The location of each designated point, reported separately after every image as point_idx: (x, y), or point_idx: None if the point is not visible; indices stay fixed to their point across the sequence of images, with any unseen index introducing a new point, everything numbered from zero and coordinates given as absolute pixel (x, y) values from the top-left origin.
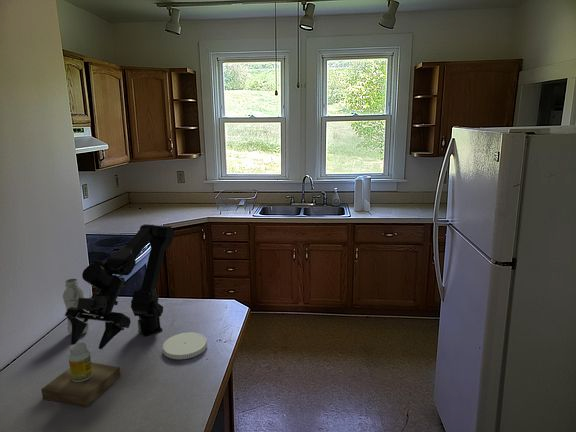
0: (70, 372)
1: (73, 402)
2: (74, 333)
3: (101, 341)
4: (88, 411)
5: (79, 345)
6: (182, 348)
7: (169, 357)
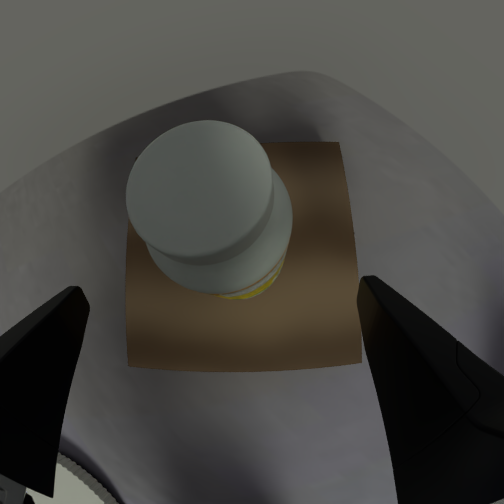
0: (324, 266)
1: None
2: (413, 339)
3: (40, 314)
4: None
5: (189, 197)
6: None
7: (67, 458)
